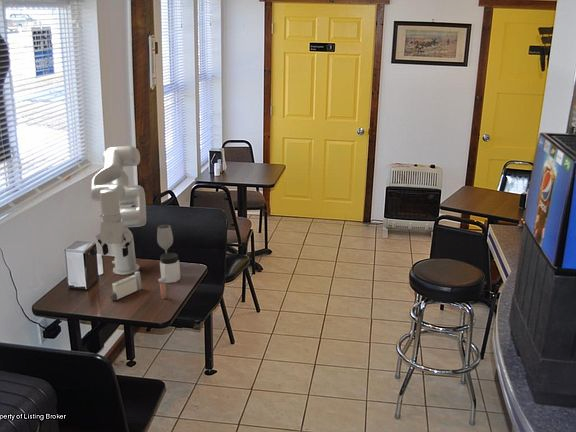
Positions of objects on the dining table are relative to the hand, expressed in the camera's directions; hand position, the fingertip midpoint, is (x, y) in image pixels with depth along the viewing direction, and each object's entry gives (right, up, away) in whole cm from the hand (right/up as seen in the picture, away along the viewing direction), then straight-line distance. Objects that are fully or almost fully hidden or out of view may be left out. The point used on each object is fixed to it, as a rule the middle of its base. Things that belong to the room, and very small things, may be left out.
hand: (115, 254), depth 276 cm
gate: (+3, -18, +7) cm, 19 cm away
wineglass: (+15, -8, +37) cm, 41 cm away
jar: (+20, -13, +22) cm, 33 cm away
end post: (+20, -19, +3) cm, 28 cm away
